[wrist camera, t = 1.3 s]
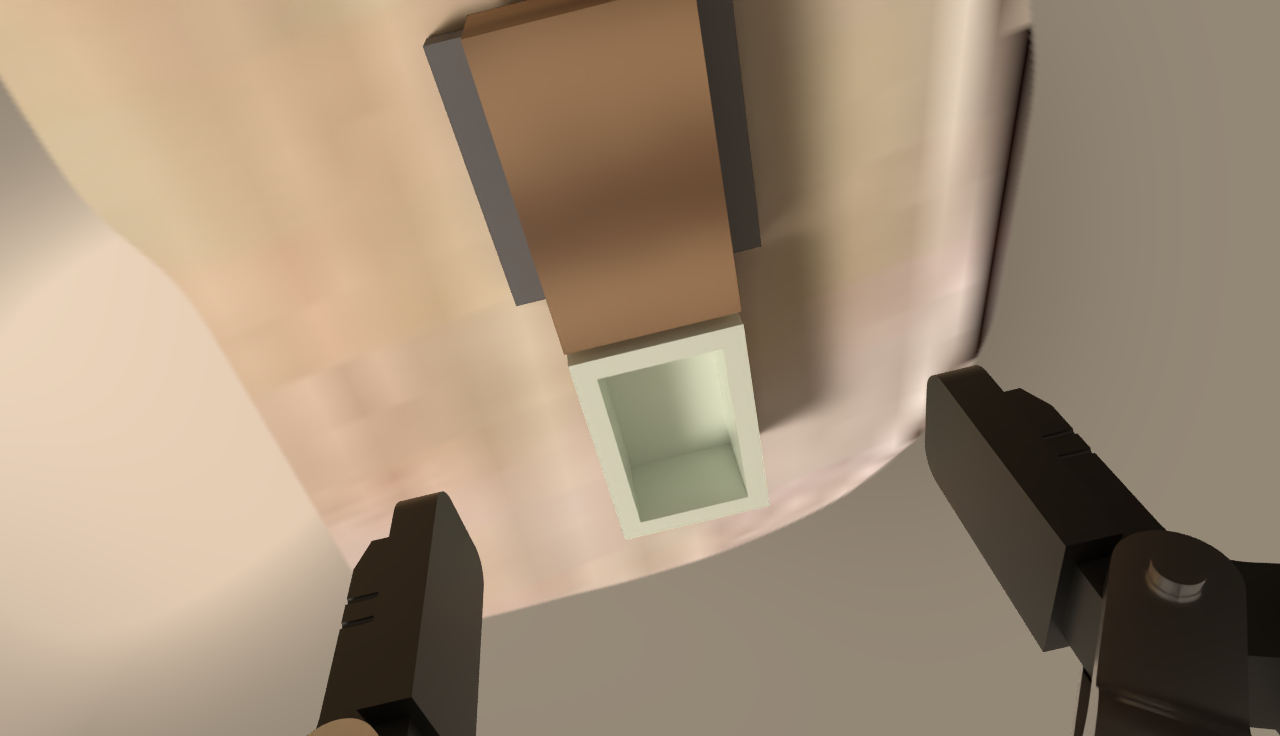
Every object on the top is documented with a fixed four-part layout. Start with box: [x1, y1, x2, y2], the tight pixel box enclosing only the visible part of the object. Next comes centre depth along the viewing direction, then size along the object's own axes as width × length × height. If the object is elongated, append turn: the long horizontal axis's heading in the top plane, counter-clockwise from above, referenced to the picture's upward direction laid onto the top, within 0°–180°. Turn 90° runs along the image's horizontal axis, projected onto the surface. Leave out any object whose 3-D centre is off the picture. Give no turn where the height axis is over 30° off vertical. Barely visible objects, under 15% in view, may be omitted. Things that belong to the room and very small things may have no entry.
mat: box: [423, 0, 761, 306], centre depth 25 cm, size 9×9×1 cm
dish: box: [567, 313, 770, 540], centre depth 29 cm, size 9×6×4 cm, turn 12°
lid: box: [461, 0, 742, 355], centre depth 23 cm, size 10×6×3 cm, turn 12°
